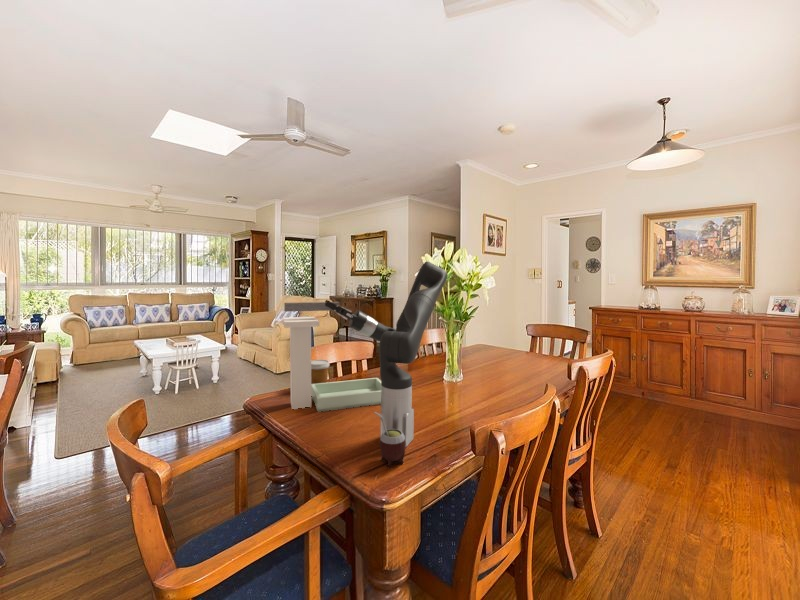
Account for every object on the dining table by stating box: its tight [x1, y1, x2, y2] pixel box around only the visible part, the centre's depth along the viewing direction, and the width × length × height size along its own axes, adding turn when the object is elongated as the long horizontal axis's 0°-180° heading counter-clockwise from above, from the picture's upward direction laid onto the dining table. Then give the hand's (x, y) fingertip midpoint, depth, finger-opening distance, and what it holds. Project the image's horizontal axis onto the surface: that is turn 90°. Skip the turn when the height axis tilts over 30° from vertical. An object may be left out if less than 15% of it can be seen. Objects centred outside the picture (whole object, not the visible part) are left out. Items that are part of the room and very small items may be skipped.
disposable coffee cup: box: [311, 359, 331, 384], centre depth 153 cm, size 10×10×12 cm
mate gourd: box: [373, 411, 407, 469], centre depth 93 cm, size 8×8×15 cm
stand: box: [282, 316, 320, 410], centre depth 133 cm, size 12×13×33 cm
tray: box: [311, 377, 381, 413], centre depth 141 cm, size 28×18×5 cm, turn 111°
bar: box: [283, 301, 340, 312], centre depth 133 cm, size 20×3×3 cm, turn 111°
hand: (325, 302), depth 135 cm, fingers closed on bar, 3 cm apart
